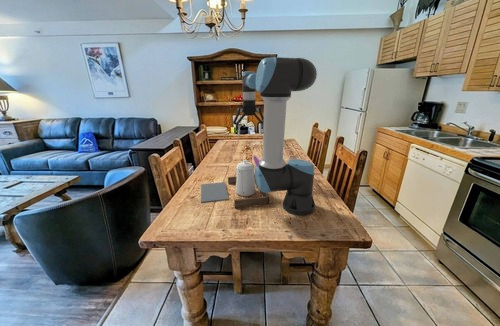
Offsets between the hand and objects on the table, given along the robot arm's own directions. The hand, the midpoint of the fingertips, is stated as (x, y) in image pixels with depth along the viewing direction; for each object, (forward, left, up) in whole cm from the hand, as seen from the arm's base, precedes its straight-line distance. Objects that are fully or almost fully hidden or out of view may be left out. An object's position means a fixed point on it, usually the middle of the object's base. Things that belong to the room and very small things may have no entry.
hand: (249, 135), depth 136 cm
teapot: (-1, -12, -27) cm, 30 cm away
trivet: (-20, +25, -27) cm, 42 cm away
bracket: (-25, +8, -27) cm, 37 cm away
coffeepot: (-25, +8, -27) cm, 38 cm away
